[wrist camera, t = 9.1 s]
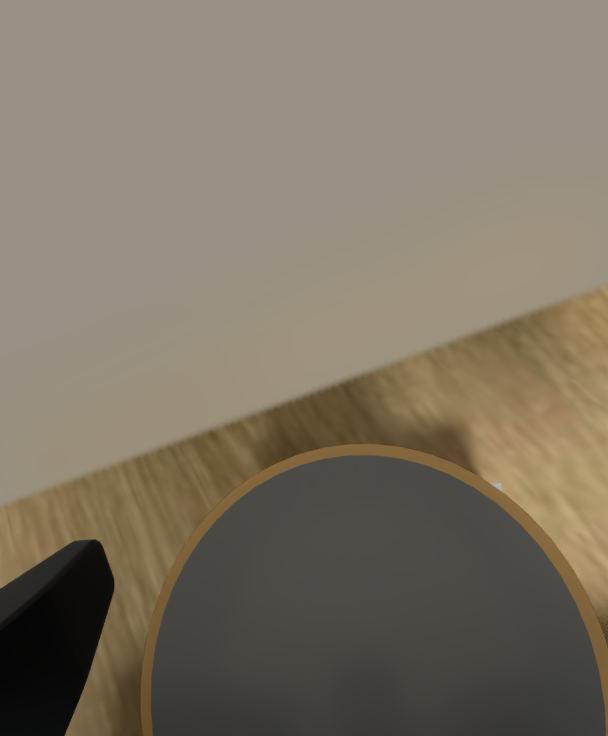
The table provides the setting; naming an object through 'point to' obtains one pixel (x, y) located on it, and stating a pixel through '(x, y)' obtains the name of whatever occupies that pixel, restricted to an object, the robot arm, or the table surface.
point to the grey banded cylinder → (372, 610)
